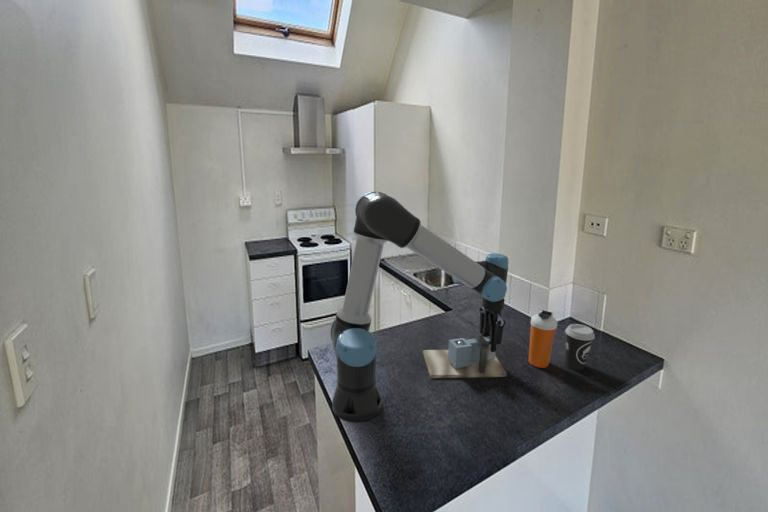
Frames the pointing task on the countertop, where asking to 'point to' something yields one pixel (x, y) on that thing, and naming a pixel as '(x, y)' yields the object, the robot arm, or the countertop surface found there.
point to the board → (444, 369)
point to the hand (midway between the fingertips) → (488, 355)
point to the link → (464, 352)
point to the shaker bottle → (541, 338)
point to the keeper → (482, 352)
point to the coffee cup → (577, 345)
